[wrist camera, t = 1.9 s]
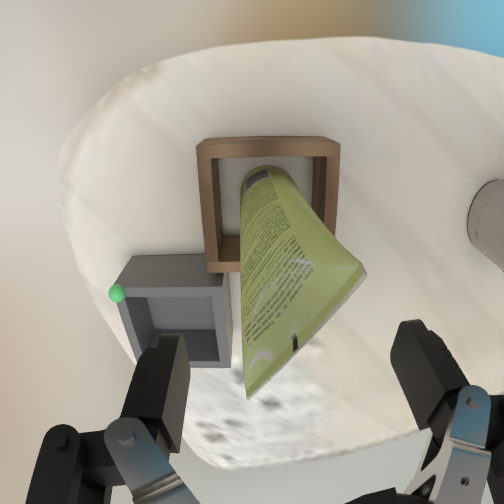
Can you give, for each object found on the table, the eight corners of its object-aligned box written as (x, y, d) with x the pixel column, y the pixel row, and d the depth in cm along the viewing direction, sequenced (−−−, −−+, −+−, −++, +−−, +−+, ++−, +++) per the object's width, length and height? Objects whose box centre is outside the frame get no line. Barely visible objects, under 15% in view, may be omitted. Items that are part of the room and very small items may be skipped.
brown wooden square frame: (324, 136, 26) (340, 143, 21) (319, 243, 30) (331, 268, 26) (205, 138, 26) (196, 146, 21) (213, 246, 30) (207, 272, 26)
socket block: (226, 250, 31) (221, 290, 24) (232, 329, 35) (230, 375, 29) (129, 253, 31) (104, 290, 24) (148, 329, 35) (133, 371, 29)
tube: (299, 217, 29) (362, 383, 12) (246, 227, 30) (245, 403, 12) (290, 159, 27) (369, 273, 9) (234, 169, 27) (209, 300, 10)
